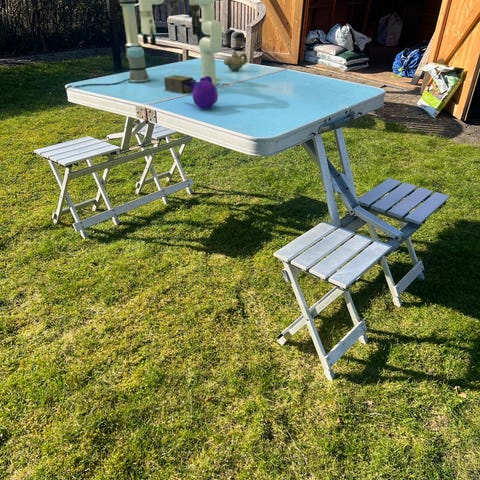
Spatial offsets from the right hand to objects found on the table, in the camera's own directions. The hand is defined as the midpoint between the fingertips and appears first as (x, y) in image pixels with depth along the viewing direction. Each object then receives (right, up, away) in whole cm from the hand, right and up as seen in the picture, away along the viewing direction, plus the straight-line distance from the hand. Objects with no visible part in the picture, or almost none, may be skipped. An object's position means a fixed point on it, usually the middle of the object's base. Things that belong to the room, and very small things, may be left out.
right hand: (149, 44), depth 283 cm
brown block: (+15, -20, +26) cm, 37 cm away
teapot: (+53, +16, +87) cm, 103 cm away
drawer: (+20, -21, +22) cm, 37 cm away
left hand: (+23, +36, +66) cm, 79 cm away
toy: (+34, -43, -13) cm, 56 cm away
